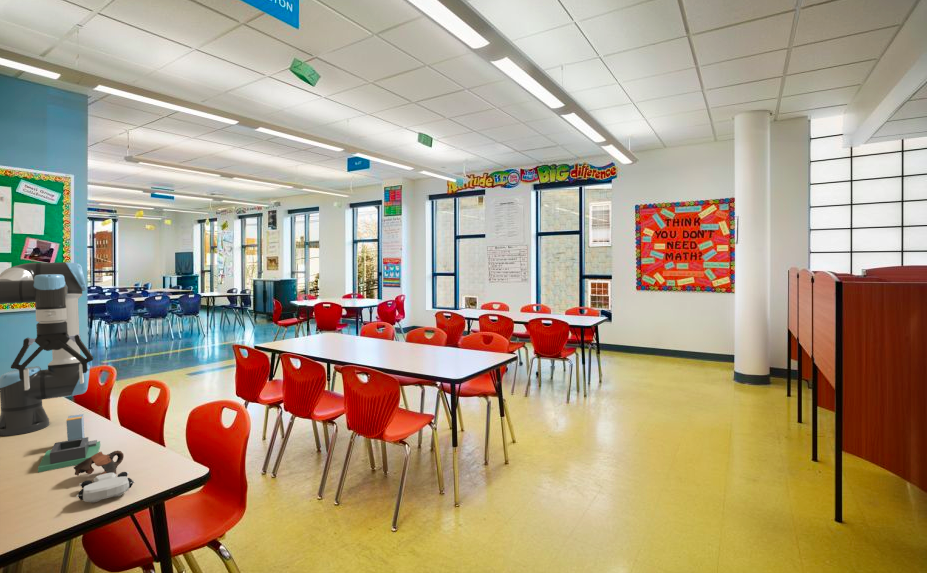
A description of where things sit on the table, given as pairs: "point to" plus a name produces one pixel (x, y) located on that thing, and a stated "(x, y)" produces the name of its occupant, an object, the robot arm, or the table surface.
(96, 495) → the robot toy
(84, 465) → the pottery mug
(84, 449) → the circuit board
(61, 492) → the table surface
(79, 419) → the plug
